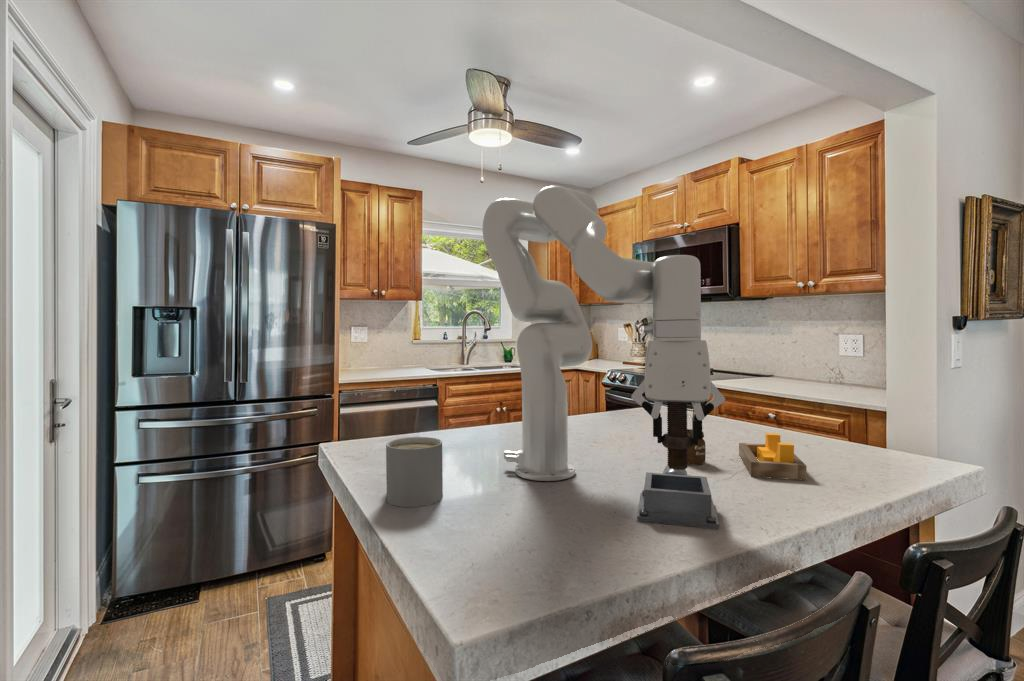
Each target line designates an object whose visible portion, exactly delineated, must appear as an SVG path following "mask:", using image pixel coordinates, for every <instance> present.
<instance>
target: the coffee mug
mask: <svg viewBox="0 0 1024 681" xmlns="http://www.w3.org/2000/svg"><path fill="white" fill-rule="evenodd" d="M385 465H386V466H385V467H386V469H385V470H386V478H385V479H386V481H385V482H386V502H387V503H388V504H389V505H391V506H395V507H400V508H417V507H418V508H419V507H425V506H430V505H433V504H436V503H438V502H440V501H441V500H442V499H443V497H444V496H443V495H444V493H443V492H444V491H443V489H444V488H443V487H444V486H443V480H444V479H443V476H444V475H443V441H442V440H441V439H439V438H436V437H429V436H428V437H427V436H413V437H410V436H409V437H402V438H397V439H393V440H390V441H388V442H387V443H386V445H385Z"/></svg>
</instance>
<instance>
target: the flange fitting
mask: <svg viewBox="0 0 1024 681" xmlns="http://www.w3.org/2000/svg"><path fill="white" fill-rule="evenodd" d="M715 508H716V507H715V505H714V500H713V498H712V492H711V489H710V485H709V482H708V477H707V476H697V475H688V472H687V469H683V470H674V469H673V468H671V469H670V468H669V466H668V465H666V466H665V467H664V469H663V471H662V473H660V472H647V471H646V472H645V479H644V486H643V490H642V492H640V495H639V501H638V508H637V514H636V515H637V516H636V522H640V523H642V522H643V523H651V524H660V525H661V524H662V525H672V526H681V527H682V526H683V527H690V528H700V529H701V528H702V529H709V530H720V523H719V520H718V516H717V511H716V509H715Z"/></svg>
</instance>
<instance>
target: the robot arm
mask: <svg viewBox="0 0 1024 681" xmlns="http://www.w3.org/2000/svg"><path fill="white" fill-rule="evenodd" d="M607 232H608V227H607V224H606V221H605V220H604V219H603V218H602V217H600V216H599V210H598V205H597V203H596V201H595V200H594V198H593V197H592V196H591V195H589V194H588V193H587V192H583V191H579V190H576V189H572V188H568V187H564V186H562V185H549V186H545V187H543V188H541V189H540V190H539V191H538V192H537V194H536V195H535V197H534V198H533V202H532V201H527V200H523V199H520V198H519V199H517V198H510V197H509V198H508V197H504V198H503V197H502V198H499V199H496V200H494V201H492V202H491V203H490V204H489V205H488V207H487V208H486V210H485V213H484V216H483V220H482V238H483V243H484V246H485V248H486V252H487V253H488V255H489V257H490V259H491V261H492V263H493V266H494V268H495V269H496V272H497V274H498V278H499V281H500V284H501V287H502V291H503V293H504V295H505V299H506V301H507V304H508V307H509V309H510V312H511V314H512V316H513V317H514V318H515V319H516V320H517V321H519V322H524V323H532V324H530V325H527V326H526V327H524V328H523V329H522V330H521V331H520V333H519V335H518V337H517V341H516V352H517V358H518V364H519V369H520V377H521V406H522V410H521V411H522V412H521V414H522V415H521V417H522V418H521V423H522V424H521V425H522V427H521V428H522V430H521V431H522V438H521V440H522V441H521V442H522V443H521V444H522V446H521V447H522V448H521V449H520V450H518V451H514V450H504V452H503V459H504V461H505V462H509V463H516V464H517V465H515V469H514V470H515V472H514V473H515V474H516V475H517V476H518V477H519V478H522V479H525V480H526V479H527V480H530V481H535V482H537V481H539V482H555V481H561V480H562V481H563V480H566V479H570V478H572V477H574V476H575V474H576V467H575V466H574V465H573V464H571V463H569V462H568V461H569V460H568V458H569V457H568V455H569V453H568V452H569V451H568V450H569V447H568V445H569V443H568V441H569V440H568V436H569V435H568V434H569V433H568V432H569V431H568V430H569V428H568V426H569V424H568V423H569V422H568V421H569V420H568V415H569V414H568V412H569V411H568V410H569V409H568V386H567V383H566V379H565V377H564V375H563V372H562V370H561V368H564V367H565V368H567V367H569V368H570V367H575V366H580V365H582V364H585V363H586V362H587V361H588V360H589V358H590V357H591V355H592V351H593V340H592V335H591V332H590V330H589V326H588V324H587V322H586V318H585V316H584V314H583V312H582V309H581V307H580V304H579V301H578V300H577V297H576V295H575V293H574V292H573V290H572V289H571V288H570V287H569V286H568V284H565V283H564V282H561V281H558V280H553V279H552V280H551V279H545V278H543V277H542V275H541V274H540V273H539V271H538V269H537V268H538V267H537V266H536V263H535V260H534V257H533V256H532V255H531V253H530V252H529V251H528V250H527V248H526V247H525V246H524V245H523V244H522V243H521V241H527V242H535V243H542V244H543V243H549V242H550V243H551V242H554V241H558V242H560V243H561V244H562V245H563V246H564V247H565V248H566V249H567V250H568V251H569V252H570V259H571V264H572V267H573V269H574V272H575V273H576V274H577V276H578V277H579V278H580V279H581V281H583V282H584V283H585V284H586V285H587V287H588V288H590V289H591V290H592V291H593V292H594V293H595V294H596V295H597V296H599V297H600V298H602V299H604V300H606V301H608V302H612V303H622V304H623V303H626V304H627V303H628V304H629V303H630V304H633V305H634V304H636V305H637V304H640V305H648V304H652V323H650V324H648V325H643V334H648V335H650V336H652V340H648V341H647V346H646V352H645V362H644V364H645V365H644V379H643V381H642V382H641V383H640V384H639V386H638V387H637V388H636V389H635V390H634V392H633V393H632V394H631V395H630V396H631V397H630V398H631V400H633V401H634V402H635V403H637V405H639V406H641V408H642V409H643V410H645V411H646V413H647V414H648V415H650V416H651V418H652V436H653V438H657V444H662V436H663V417H662V416H661V415H662V414H661V408H662V405H663V403H667V402H687V403H691V404H692V407H693V408H694V411H695V413H694V417H693V416H692V417H693V418H692V417H691V420H692V421H691V422H692V423H691V424H692V426H691V429H692V438H693V444H694V445H698V439H702V431H703V420H704V419H705V418H706V417H707V416H708V415H709V414H710V413H711V412H712V411H714V409H716V408H717V407H719V406H720V405H721V404H723V403H724V402H726V397H725V396H724V395H723V394H722V392H721V391H720V390H719V388H717V386H715V384H714V383H713V382H712V380H711V378H712V377H711V366H710V365H711V364H710V355H709V353H710V352H709V348H708V344H707V340H706V339H702V321H701V320H702V319H701V318H702V310H701V309H702V307H701V306H702V305H701V304H702V303H701V302H702V301H701V300H702V299H701V296H702V295H701V294H702V292H701V291H702V289H701V288H702V287H701V286H702V284H701V283H702V282H701V278H702V276H701V273H702V271H701V262H700V259H699V258H698V257H696V256H694V255H691V254H690V255H689V254H674V255H673V254H671V255H665V256H661V257H659V258H657V259H656V260H655V261H647V260H646V261H645V260H641V259H633V258H628V257H621V256H620V255H618V254H617V253H615V252H614V250H612V249H611V248H610V247H608V245H606V244H605V242H604V241H605V239H606V236H607ZM520 240H521V241H520ZM682 381H685V383H683V384H682ZM683 385H685V386H683ZM682 386H683V387H682ZM643 394H645V397H646V399H645V397H643ZM711 395H712V399H710V398H711ZM647 399H648V400H649V401H652V402H653V405H652V403H650V402H649V401H648V400H647ZM704 402H706V403H705V404H704V405H702V404H701V403H704ZM693 408H692V409H693Z"/></svg>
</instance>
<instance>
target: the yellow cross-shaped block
mask: <svg viewBox="0 0 1024 681" xmlns="http://www.w3.org/2000/svg"><path fill="white" fill-rule="evenodd" d="M794 454H795V444H793V443H791V442H782V441H781V435H780V434H779V433H774V432H773V433H772V432H765V447H757V458H756V459H758V460H759V461H770V462H786V463H794Z"/></svg>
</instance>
